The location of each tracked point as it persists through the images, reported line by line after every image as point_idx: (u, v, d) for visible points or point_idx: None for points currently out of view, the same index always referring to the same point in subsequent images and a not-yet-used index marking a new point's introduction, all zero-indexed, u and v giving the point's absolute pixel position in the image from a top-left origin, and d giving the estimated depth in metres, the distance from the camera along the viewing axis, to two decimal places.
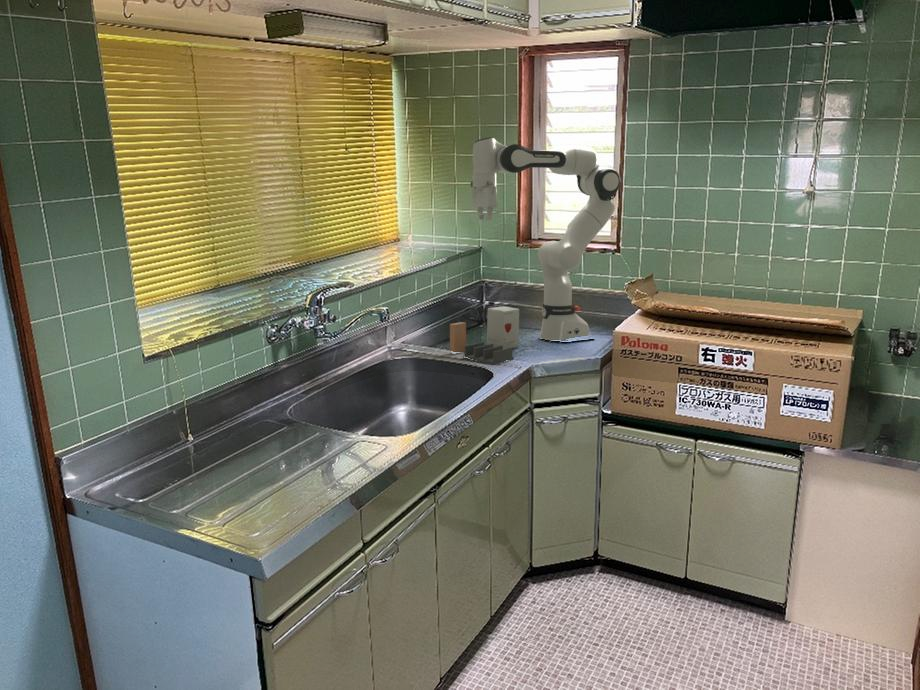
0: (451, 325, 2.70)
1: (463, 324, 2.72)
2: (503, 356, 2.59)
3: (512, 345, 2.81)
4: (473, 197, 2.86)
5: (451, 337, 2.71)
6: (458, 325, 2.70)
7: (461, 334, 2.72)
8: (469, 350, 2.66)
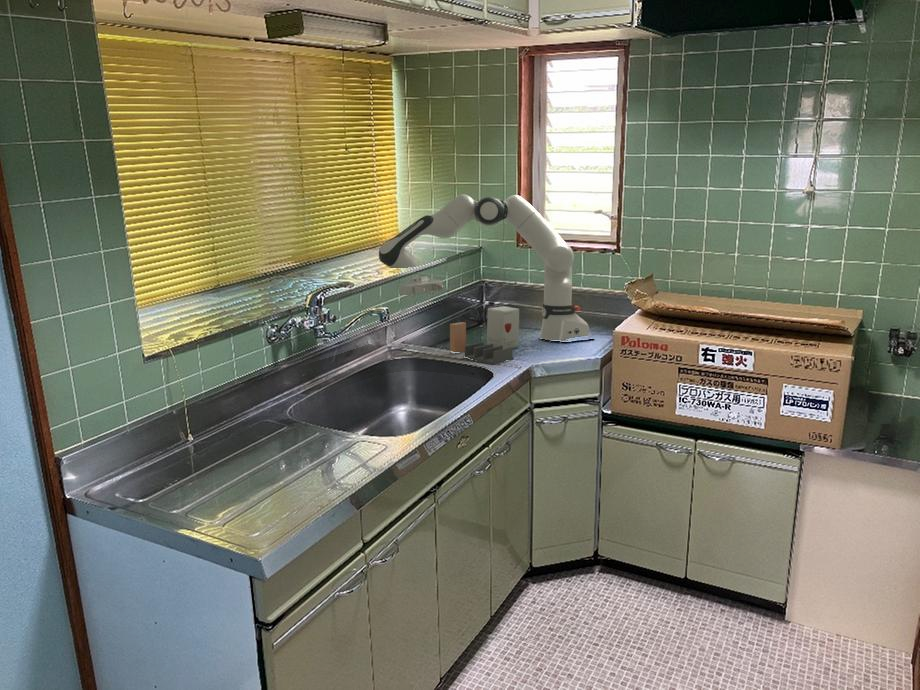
0: (451, 325, 2.70)
1: (463, 324, 2.72)
2: (503, 356, 2.59)
3: (512, 345, 2.81)
4: None
5: (451, 337, 2.71)
6: (458, 325, 2.70)
7: (461, 334, 2.72)
8: (469, 350, 2.66)
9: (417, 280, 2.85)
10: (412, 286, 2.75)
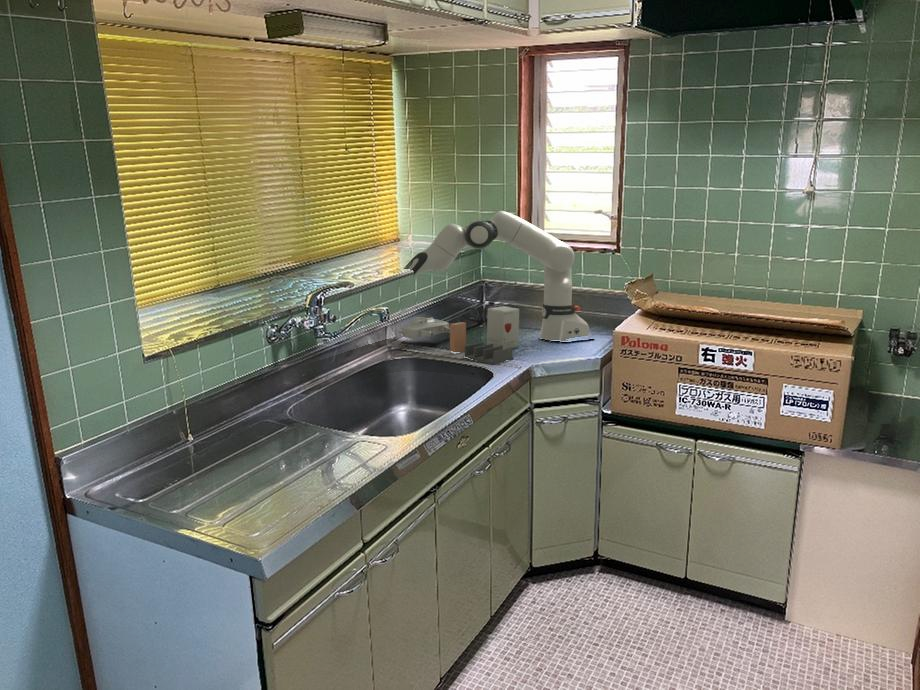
0: (451, 325, 2.70)
1: (463, 324, 2.72)
2: (503, 356, 2.59)
3: (512, 345, 2.81)
4: None
5: (451, 337, 2.71)
6: (458, 325, 2.70)
7: (461, 334, 2.72)
8: (469, 350, 2.66)
9: (423, 322, 2.87)
10: (418, 330, 2.77)
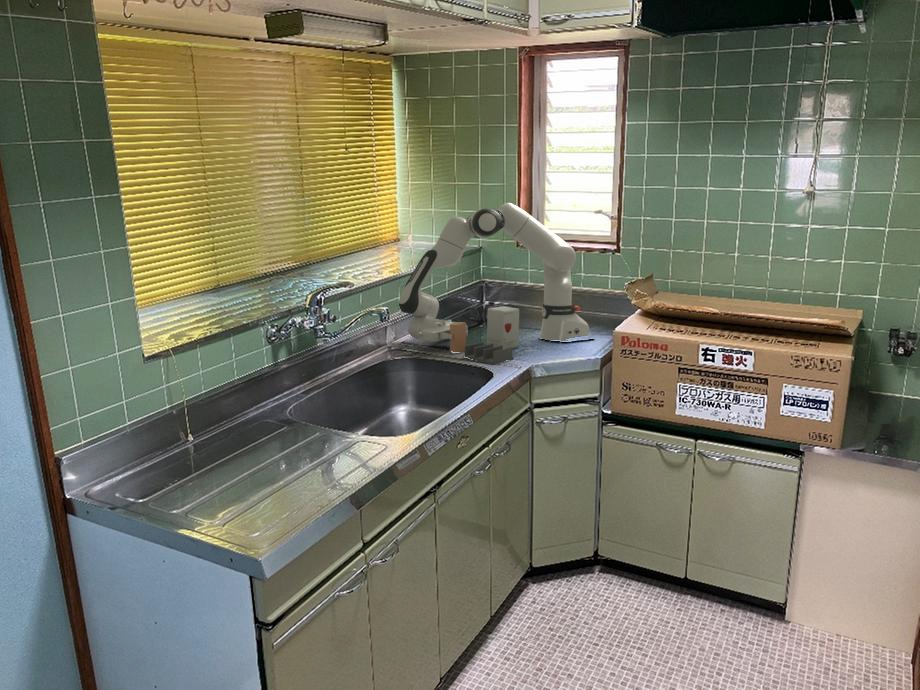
0: (451, 325, 2.70)
1: (463, 324, 2.72)
2: (503, 356, 2.59)
3: (512, 345, 2.81)
4: None
5: None
6: (458, 325, 2.70)
7: (461, 334, 2.72)
8: (469, 350, 2.66)
9: (441, 325, 2.79)
10: (437, 332, 2.70)
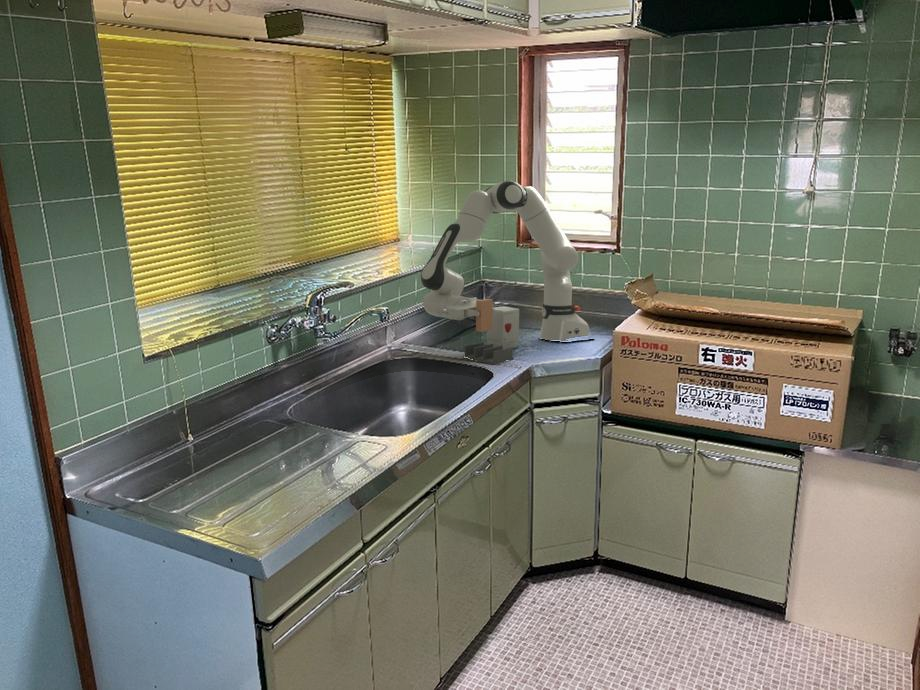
0: (477, 301, 2.59)
1: (490, 301, 2.62)
2: (503, 356, 2.59)
3: (512, 345, 2.81)
4: None
5: None
6: (485, 301, 2.60)
7: (488, 311, 2.62)
8: (469, 350, 2.66)
9: (466, 302, 2.69)
10: (463, 309, 2.59)
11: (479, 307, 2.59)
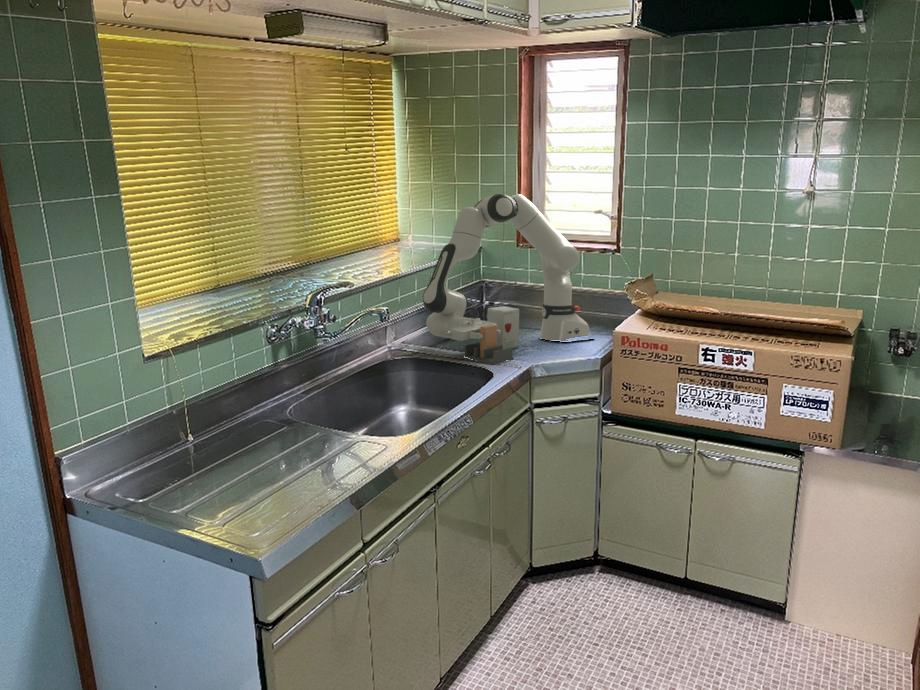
0: (482, 328, 2.60)
1: (494, 327, 2.62)
2: (503, 356, 2.59)
3: (512, 345, 2.81)
4: None
5: (482, 340, 2.61)
6: (489, 328, 2.60)
7: (492, 337, 2.62)
8: (469, 350, 2.66)
9: (470, 323, 2.69)
10: (467, 331, 2.59)
11: (483, 333, 2.60)
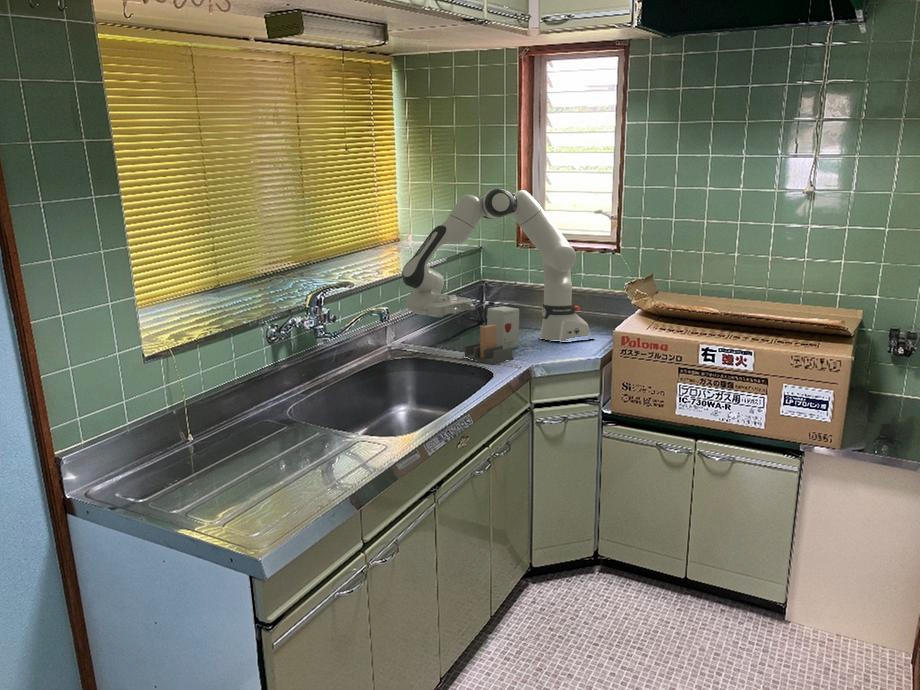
0: (482, 328, 2.60)
1: (494, 327, 2.62)
2: (503, 356, 2.59)
3: (512, 345, 2.81)
4: None
5: (482, 340, 2.61)
6: (489, 328, 2.60)
7: (492, 337, 2.62)
8: (469, 350, 2.66)
9: (446, 300, 2.76)
10: (442, 307, 2.67)
11: (483, 333, 2.60)
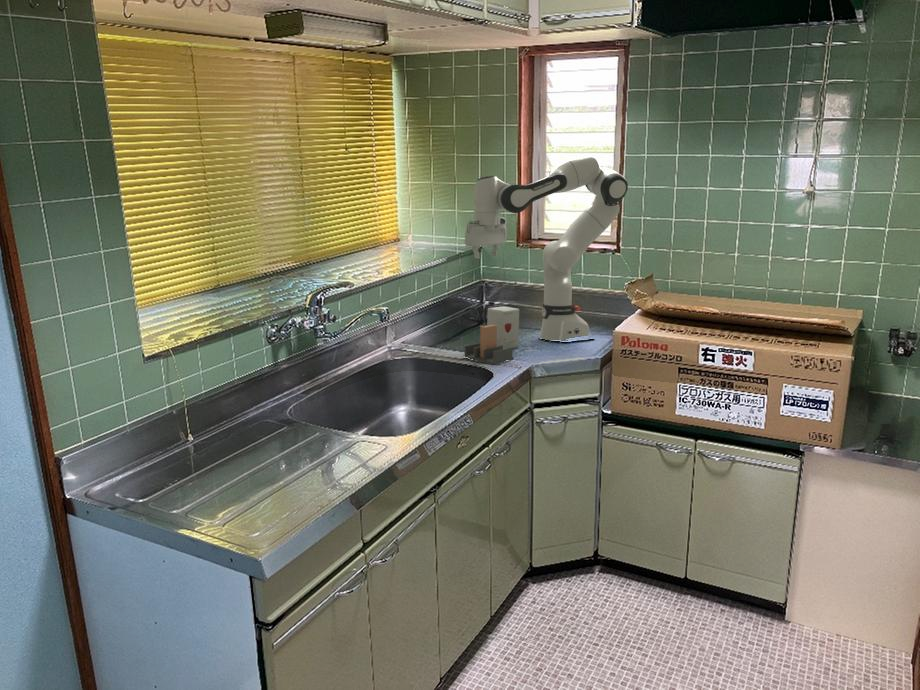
0: (482, 328, 2.60)
1: (494, 327, 2.62)
2: (503, 356, 2.59)
3: (512, 345, 2.81)
4: None
5: (482, 340, 2.61)
6: (489, 328, 2.60)
7: (492, 337, 2.62)
8: (469, 350, 2.66)
9: None
10: (475, 246, 2.72)
11: (483, 333, 2.60)
